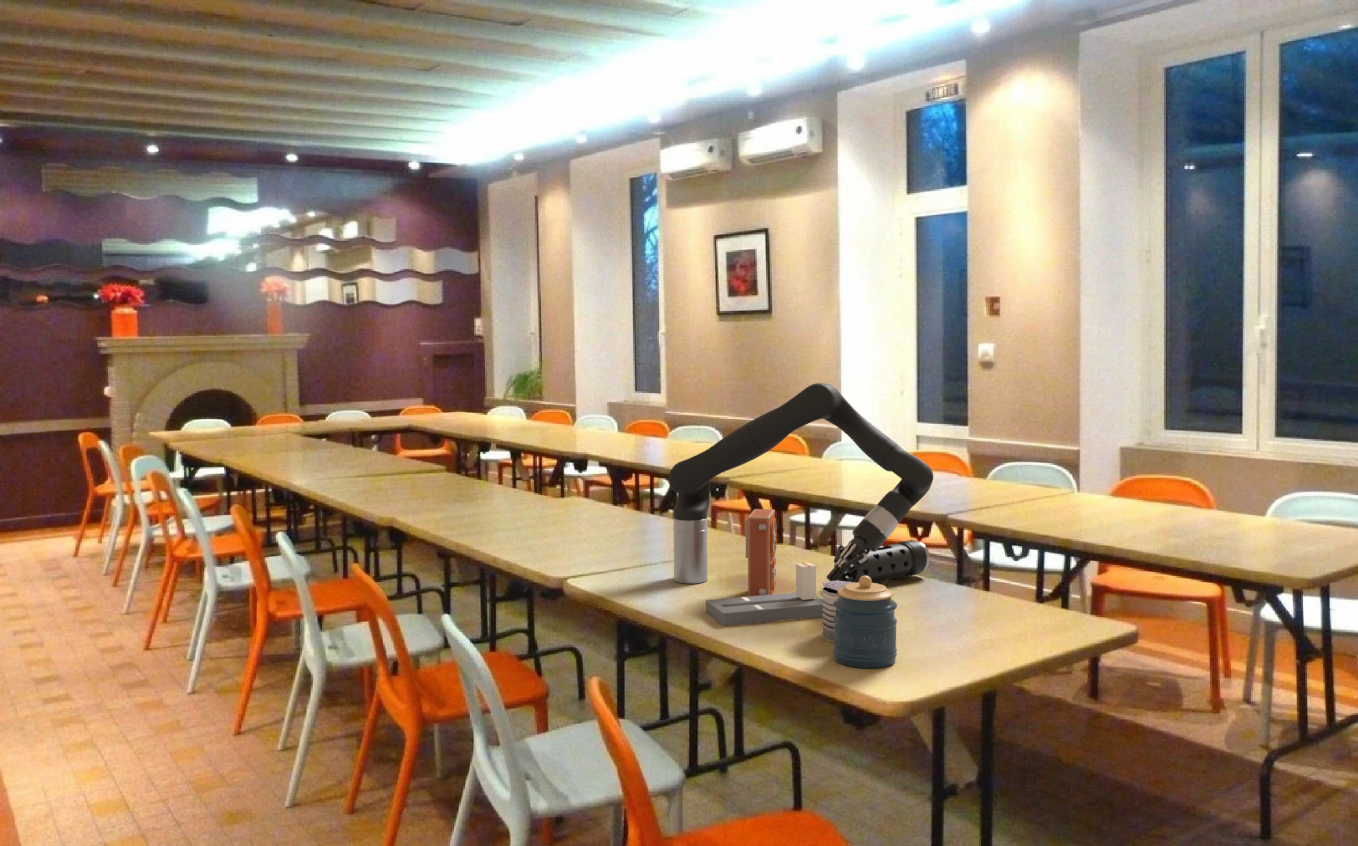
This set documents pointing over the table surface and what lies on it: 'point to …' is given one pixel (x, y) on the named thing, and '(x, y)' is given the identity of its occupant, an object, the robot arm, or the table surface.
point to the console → (763, 609)
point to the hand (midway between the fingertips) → (830, 580)
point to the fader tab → (806, 581)
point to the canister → (865, 625)
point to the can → (830, 606)
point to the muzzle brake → (892, 562)
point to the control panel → (761, 551)
